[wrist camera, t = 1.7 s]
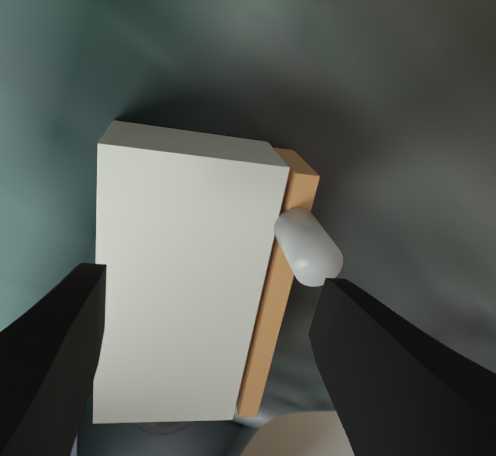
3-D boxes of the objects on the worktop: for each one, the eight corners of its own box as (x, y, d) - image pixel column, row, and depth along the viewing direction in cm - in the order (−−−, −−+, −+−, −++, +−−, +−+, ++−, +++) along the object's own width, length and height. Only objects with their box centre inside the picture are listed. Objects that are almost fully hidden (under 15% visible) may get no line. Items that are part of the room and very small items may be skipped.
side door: (251, 362, 25) (276, 471, 19) (222, 362, 24) (239, 473, 18) (301, 151, 19) (361, 207, 13) (265, 146, 19) (309, 201, 13)
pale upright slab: (221, 375, 25) (229, 432, 21) (104, 375, 23) (92, 437, 20) (267, 141, 19) (289, 167, 15) (113, 120, 17) (97, 143, 14)
